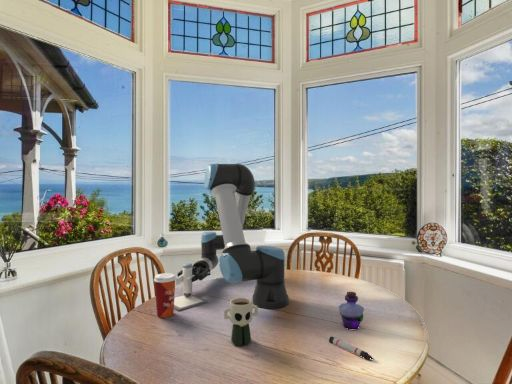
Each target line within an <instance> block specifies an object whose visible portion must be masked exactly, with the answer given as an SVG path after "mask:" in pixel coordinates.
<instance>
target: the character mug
mask: <svg viewBox="0 0 512 384" xmlns="http://www.w3.org/2000/svg"><path fill="white" fill-rule="evenodd" d="M258 308H259V307H258V306H257V305H254V304H253V302H252V299H250V298H246V297H236V298H233V299H231V300H229V308H227V307H226V308H224V309H223V319H225V320H229V321H230V322H231V323H232V324H233V325H232V328H231V340H230V341H231V342H232V344H233V345H236V346H242V345H243V343H244V345H248V344H250V343H251V342H252V339H251V338H252V337H251V335H252V334H251V328H250V323H251V322H252V321H253V317H254V316H258V312H259V311H258ZM253 310H254V312H253ZM228 312H229V315H228Z"/></svg>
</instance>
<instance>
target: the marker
mask: <svg viewBox="0 0 512 384" xmlns="http://www.w3.org/2000/svg"><path fill="white" fill-rule="evenodd" d="M328 341H329V343H330V344H333V345H335V346H336V345H337V346H336V347H338V346H339V347H338V348H340V347H342V348H344V349H346V350H348V351H347V352H349V351H350V352H349V353H351V352H353V353H355V354H357V355H359V356H362V357H364V358H368V359H370V358H371V359H373V360H372V361H374V359H375V358H374V357H373V356H372V355H370V354H369V353H368V352H367V351H365V350H363V349H360V348H358V347H356V346H354V345H352V344H350V343H347V342H345V341H343V340H340V339H338V338H336V337H334V336H332V335H331V336H330V337H329V338H328ZM342 348H341V349H342ZM344 349H343V350H344ZM346 350H345V351H346ZM353 353H352V354H353ZM355 354H354V355H355ZM357 355H356V356H357ZM359 356H358V357H359ZM368 359H367V360H368Z"/></svg>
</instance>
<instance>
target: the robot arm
mask: <svg viewBox="0 0 512 384" xmlns="http://www.w3.org/2000/svg"><path fill="white" fill-rule="evenodd" d="M203 183H204V189H206V190H208V191H209V190H210V194H211V196H212V197H214V198H215V202H216V207H217V213H218V218H219V223H220V228H221V233H222V234H217V232H216V231H204V232H202V234H201V238H200V239H201V241H200V242H201V243H200V245H201V246H200V247H201V253H200V254H201V258H200V259H199V260H197V261H195V262H194V263H193V264H192V276H190V277H189V278H187V286H189V285H190V284H191V283H192V284H193V283H194V282H196V281H198V280H199V281H203V280H204V279H205V278H207V277H208V276H211V271H212V270H214V269H215V268H216V267H217V266H219V270H220V273H221V276H222V278H223V280H225V282H227V283H229V284H235V283H236V284H240V283H243V282H249V281H251V282H252V281H256V285H255V286H254V287H255V288H254V292H253V295H252V299H251V300H252V305H253V306H254V305H257V306H258V308H260V309H261V308H263V309H280V308H284V307H286V306H288V305H289V300H290V299H289V294H288V293H287V288H286V284H285V262H286V259H285V252H284V250H283V249H282V248H280V247H275V246H271V245H257V246H256V248H255V250H252V249H251V246H250V244H249V243H247V242H246V240H245V234H244V229H243V228H244V227H243V226H244V224H245V220H246V216H247V211H248V207H249V203H250V200H251V196H252V195H254V192H255V187H256V182H255V177H254V174H253V173H252V171H251V170H250V168H249V167H247V166H246V165H244V164H240V163H219V162H217V163H210V164H208V165H207V167H206V169H205V174H204V182H203ZM218 250H219V251H220V250H221V253H222V254H221V255H220V256H219V257H218V256H217V251H218ZM218 264H219V265H218ZM181 283H183V269H181V270H180V271H178V272H177V277H176V280H175V286H176V285H177V286H178V285H180V284H181Z"/></svg>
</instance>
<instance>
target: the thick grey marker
mask: <svg viewBox="0 0 512 384" xmlns="http://www.w3.org/2000/svg"><path fill="white" fill-rule="evenodd" d="M192 266H193V263H189V262H187V263H183V264H182V270H183V282H182V293H183V295H184V296H186V297H188V296H191V294H193V282H192V283H191V284H190V285H189V286H187V278H189V277H190V276H192Z"/></svg>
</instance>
